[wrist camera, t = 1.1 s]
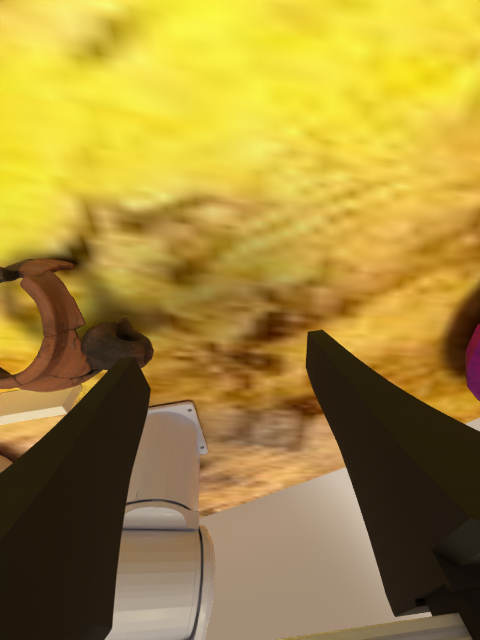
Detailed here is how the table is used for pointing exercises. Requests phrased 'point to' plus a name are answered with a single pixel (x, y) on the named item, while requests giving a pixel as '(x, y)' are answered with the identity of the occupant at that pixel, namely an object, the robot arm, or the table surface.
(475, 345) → the decorative plant
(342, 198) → the table surface
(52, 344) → the brown hollow round piece
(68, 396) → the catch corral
